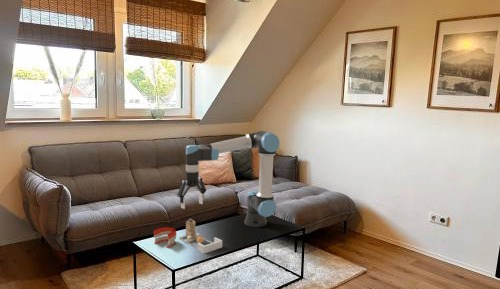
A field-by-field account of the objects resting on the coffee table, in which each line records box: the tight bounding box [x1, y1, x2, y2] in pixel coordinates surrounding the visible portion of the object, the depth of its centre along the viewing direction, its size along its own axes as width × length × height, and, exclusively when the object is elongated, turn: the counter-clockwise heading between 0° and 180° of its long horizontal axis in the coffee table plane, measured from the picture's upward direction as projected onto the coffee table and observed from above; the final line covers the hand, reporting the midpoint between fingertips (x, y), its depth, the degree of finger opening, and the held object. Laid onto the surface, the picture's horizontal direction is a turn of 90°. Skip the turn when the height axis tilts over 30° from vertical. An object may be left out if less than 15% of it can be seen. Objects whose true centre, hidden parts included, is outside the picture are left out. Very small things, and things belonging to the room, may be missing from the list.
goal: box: [196, 237, 223, 254], centre depth 210 cm, size 13×6×4 cm, turn 134°
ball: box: [195, 236, 204, 244], centre depth 217 cm, size 4×4×4 cm
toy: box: [153, 226, 177, 249], centre depth 217 cm, size 12×10×8 cm
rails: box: [178, 232, 214, 249], centre depth 220 cm, size 12×20×1 cm, turn 44°
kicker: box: [185, 218, 200, 243], centre depth 223 cm, size 8×6×12 cm
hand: (192, 205), depth 220 cm, fingers open, 13 cm apart
